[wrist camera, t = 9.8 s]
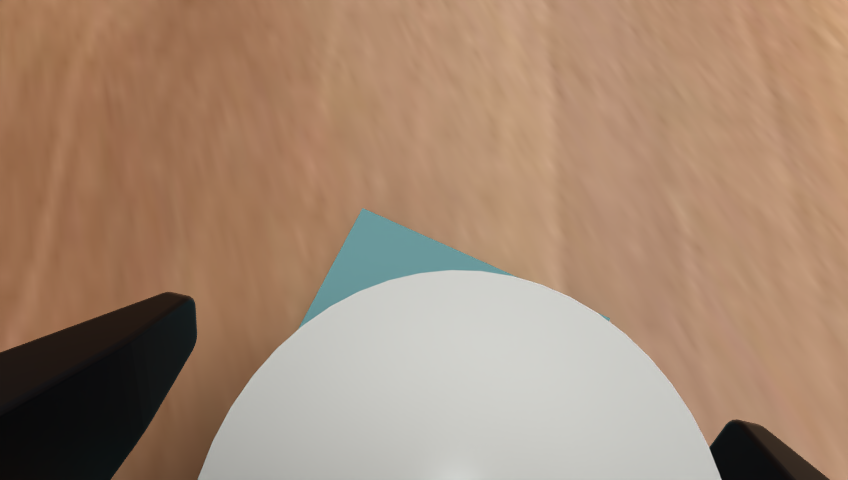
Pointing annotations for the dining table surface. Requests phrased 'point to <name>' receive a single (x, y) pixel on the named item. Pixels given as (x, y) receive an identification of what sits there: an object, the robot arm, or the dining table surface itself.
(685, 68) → the dining table surface
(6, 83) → the dining table surface
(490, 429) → the ball
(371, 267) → the mat
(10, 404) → the robot arm
